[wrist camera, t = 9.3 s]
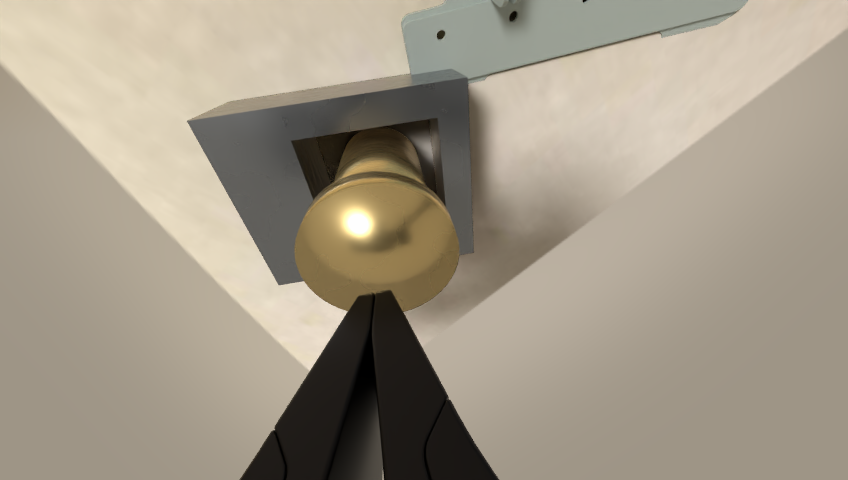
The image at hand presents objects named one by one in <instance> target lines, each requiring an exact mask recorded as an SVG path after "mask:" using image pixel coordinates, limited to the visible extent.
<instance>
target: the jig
mask: <svg viewBox="0 0 848 480" xmlns="http://www.w3.org/2000/svg"><path fill="white" fill-rule="evenodd" d="M426 119H429V125H430V135H431V144H432V153H433V162H434V172H435V181H436V190H437V196H438V197H439V198H440V199H441V201H442V202H443V204H444V205H445V206H446V208H447V210H448V212H449V214H450V217H451V220H452V223H453V225H454V228H455V231H456V234H457V237H458V242H459V255H462V254H468V253H474V251H473V221H472V191H471V162H470V132H469V102H468V77H466V76H464V75H462V74H461V73H459V72H457V71H455V70H453V69H445V70H439V71H432V72H426V73H420V74H413V75H411V74H406V75H399V76H393V77H386V78H380V79H373V80H367V81H360V82H354V83H347V84H341V85H334V86H328V87H321V88H315V89H309V90H302V91H296V92H289V93H283V94H276V95H270V96H263V97H257V98H250V99H244V100H237V101H231V102H227V103H225V104H223V105H221V106H219V107H216V108H214V109H212V110H210V111H208V112H205V113H203V114H201V115H199V116H197V117H195V118H192V119H190V120H188V121H187V122H188V124H189V126H190V127H191V129H192V131H193V133H194V135H195V136H196V138H197V140H198V142H199V143H200V145H201V147H202V149H203V151H204V152H205V154H206V156H207V158H208V160H209V161H210V163H211V165H212V167H213V168H214V170H215V172H216V174H217V176H218V177H219V179H220V181H221V183H222V185H223V186H224V188H225V190H226V192H227V194H228V195H229V197H230V199H231V201H232V202H233V204H234V206H235V208H236V210H237V211H238V213H239V215H240V217H241V219H242V220H243V222H244V224H245V226H246V227H247V229H248V231H249V233H250V235H251V236H252V238H253V240H254V242H255V244H256V245H257V247H258V249H259V251H260V252H261V254H262V256H263V258H264V260H265V261H266V263H267V265H268V267H269V269H270V270H271V272H272V274H273V276H274V277H275V279H276V281H277V283H278V285H283V284H289V283H295V282H301V281H304V280H303V278H302V277H301V275H300V273H299V271H298V268H297V265H296V261H295V252H294V247H295V240H296V236H297V233H298V230H299V228H300V225H301V223H302V221H303V218H304V216H305V214H306V211H307V210H308V208H309V206H310V204H311V203H312V201H313V200H314V199H315V197H316V196H317V195H318V194H319V193H320V192H321V191H322V190H323V189H325V188H326V187H328V186H329V185H330V184H331V182H330V179H329V176H328V173H327V170H326V167H325V164H324V161H323V158H322V155H321V152H320V149H319V146H318V143H317V140H316V137H318V136H324V135H331V134H337V133H343V132H350V131H356V130H362V129H369V128H375V127H381V126H388V125H394V124H400V123H407V122H413V121H419V120H426Z"/></svg>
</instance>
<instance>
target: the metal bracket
mask: <svg viewBox="0 0 848 480" xmlns="http://www.w3.org/2000/svg"><path fill="white" fill-rule="evenodd" d="M747 1H748V0H587V1H586V2H583V0H445V2H444V3H443V4H441V5H440V6H436V7H432V8H428V9H424V10H420V11H417V12H413V13H409V14H407V15H405V16H404V17H403V19H402V22H401V26H402V32H403V37H404V42H405V47H406V52H407V57H408V62H409V67H410V73H411V75H413V74H420V73H426V72H432V71H439V70H445V69H453V70H455V71H457V72H459V73H461V74H462V75H464V76H466V77H468V84H470V83H474V82H478V81H482V80H485V79H486V77H487V76H488V75H490V74H493V73H497V72H501V71H504V70H508V69H512V68H516V67H520V66H524V65H528V64H532V63H536V62H540V61H544V60H548V59H552V58H556V57H560V56H564V55H568V54H572V53H576V52H580V51H584V50H588V49H591V48H595V47H599V46H603V45H607V44H611V43H615V42H619V41H623V40H627V39H631V38H635V37H639V36H643V35H647V34H651V33H655V32H660V33H661V38H663V37H668V36H672V35H676V34H680V33H684V32H689V31H693V30H697V29H701V28H705V27H710V26H714V25H717V24H719V23H721V22H722V21H724V20H725V19H727V18H728V17H730V16H732V15H733V14H734V13H735V12H736V11H737V10H740V9H741V8H742V7H743V6H744V5H745V4H746V3H747ZM513 11H516V12H517V16H516V18H515V19H514V20H513V21H509V16H510V14H511V13H512V12H513ZM440 30H444V31H445V36H444V38H442V39H438V38H437V33H438V31H440Z"/></svg>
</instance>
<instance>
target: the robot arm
mask: <svg viewBox="0 0 848 480" xmlns="http://www.w3.org/2000/svg"><path fill="white" fill-rule="evenodd" d="M382 470H383V472H384V480H499V479H498V477H497V476H496V474H495V473H494V472H493V470H492V469H491V467H490V465H489V464H488V463H487V461H486V460H485V458H484V456H483V455H482V453H481V452H480V450H479V449H478V447H477V446H476V444H475V443H474V441H473V439H472V438H471V436H470V434H469V432H468V431H467V429H466V427H465V426H464V424H463V422H462V420H461V419H460V417H459V415H458V413H457V411H456V409H455V408H454V406H453V404H452V402H451V400H449V397H448V395H447V393H446V391H445V389H444V387H443V386H442V384H441V382H440V380H439V378H438V376H437V374H436V372H435V371H434V369H433V367H432V365H431V363H430V361H429V360H428V358H427V356H426V354H425V352H424V350H423V348H422V346H421V344H420V343H419V341H418V339H417V337H416V335H415V333H414V331H413V330H412V328H411V326H410V324H409V322H408V320H407V318H406V316H405V315H404V313H403V311H402V309H401V307H400V305H399V303H398V302H397V300H396V298H395V296H394V294H393V292H392V291H391V290H384V291H378V292H376V294H375V293H366V294H361V295H359V296H358V297H357V298H356V300H355V301H354V303H353V305H352V306H351V308H350V309H349V311H348V312H347V314H346V315H345V317H344V319H343V320H342V322H341V323H340V325H339V326H338V328H337V330H336V331H335V333H334V334H333V336H332V337H331V339H330V341H329V342H328V344H327V345H326V347H325V348H324V350H323V352H322V353H321V355H320V356H319V358H318V359H317V361H316V363H315V364H314V366H313V367H312V369H311V370H310V372H309V373H308V375H307V377H306V378H305V380H304V381H303V383H302V384H301V386H300V388H299V389H298V391H297V392H296V394H295V395H294V397H293V399H292V400H291V402H290V404H289V405H288V406H287V408H286V410H285V411H284V413H283V414H282V416H281V417H280V419H279V420H278V422H277V424H276V425H275V430H273V431H271V433H270V434H269V436H268V437H267V439H266V441H265V442H264V444H263V445H262V447H261V448H260V450H259V452H258V453H257V455H256V456H255V458H254V459H253V461H252V462H251V464H250V465H249V467H248V468H247V470H246V471H245V473H244V474H243V476H242V477H241V479H240V480H382Z"/></svg>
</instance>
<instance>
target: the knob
mask: <svg viewBox="0 0 848 480" xmlns="http://www.w3.org/2000/svg"><path fill="white" fill-rule="evenodd" d="M294 252H295V261H296V265H297V268H298V271H299V273H300V275H301V277H302V278H303V280H304V282H305V283H306V284H307V285H308V287H309V288H310V289H311V290H312V291H313V292H314V293H315V294H316V295H318V296H319V297H320V298H322V299H323V300H324V301H326V302H328V303H329V304H331V305H333V306H336V307H338V308H340V309H343V310H346V311H349V309H350V308H351V306H352V305H353V303H354V301H355V300H356V298H357V297H358V296H359V295H361V294H366V293H375V294H376V292H378V291H384V290H391V291H392V292H393V294H394V296H395V298H396V300H397V302H398V303H399V305H400V307H401V309H402V311H403V312H404V311H408V310H411V309H413V308H416V307H418V306H420V305H422V304H424V303H426V302H428V301H429V300H431V299H432V298H433V297H435V296H436V295H437V294H438V293H439V292H441V291H442V290H443V288H444V287H445V286H446V285H447V284H448V282H449V281H450V279H451V278H452V276H453V274H454V272H455V270H456V267H457V264H458V259H459V242H458V237H457V234H456V231H455V228H454V225H453V223H452V220H451V217H450V214H449V212H448V210H447V208H446V206H445V205H444V204H443V202H442V201H441V199H440V198H439V197H438V196H437V195H436V194H435V193H434V192H433V191H432V190H431V189H429V188H428V187H427V186H426V184H425V180H424V177H423V173H422V169H421V166H420V162H419V159H418V155H417V152H416V150H415V148H414V146H413V145H412V143H411V142H410V141H409V139H408V138H407V137H405V136H404V135H403V134H401V133H400V132H398V131H396V130H394V129H391V128H387V127H375V128H369V129H364V130H362V131H360V132H358V133H357V134H356V135H354V136H353V137H352V138H351V139H350V141H349V142H348V143H347V145H346V147H345V149H344V152H343V155H342V158H341V161H340V164H339V167H338V170H337V174H336V177H335V180H334V183H332V184H330V185H329V186H328V187H326V188H325V189H323V190H322V191H321V192H320V193H319V194H318V195H317V196H316V197H315V199H314V200H313V201H312V203H311V204H310V206H309V208H308V210H307V211H306V214H305V216H304V218H303V221H302V223H301V225H300V228H299V230H298V233H297V236H296V240H295V247H294Z"/></svg>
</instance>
